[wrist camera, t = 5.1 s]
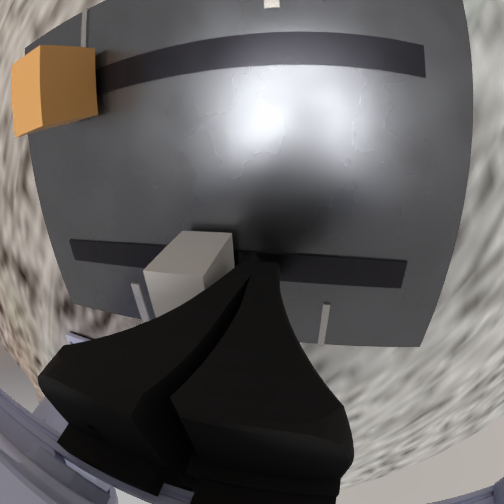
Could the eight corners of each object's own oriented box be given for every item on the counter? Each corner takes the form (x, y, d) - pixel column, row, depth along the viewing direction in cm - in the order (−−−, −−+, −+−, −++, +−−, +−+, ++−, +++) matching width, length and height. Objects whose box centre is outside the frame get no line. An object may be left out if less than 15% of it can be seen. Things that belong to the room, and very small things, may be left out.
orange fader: (98, 114, 9) (42, 125, 7) (67, 124, 10) (15, 137, 7) (95, 48, 8) (40, 44, 5) (63, 62, 8) (11, 65, 6)
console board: (413, 325, 13) (420, 348, 12) (86, 289, 17) (72, 303, 16) (443, -6, 6) (459, -18, 4) (45, 48, 10) (23, 48, 8)
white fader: (237, 299, 12) (214, 351, 9) (192, 294, 12) (163, 341, 10) (231, 232, 11) (202, 276, 8) (182, 230, 11) (142, 270, 8)
